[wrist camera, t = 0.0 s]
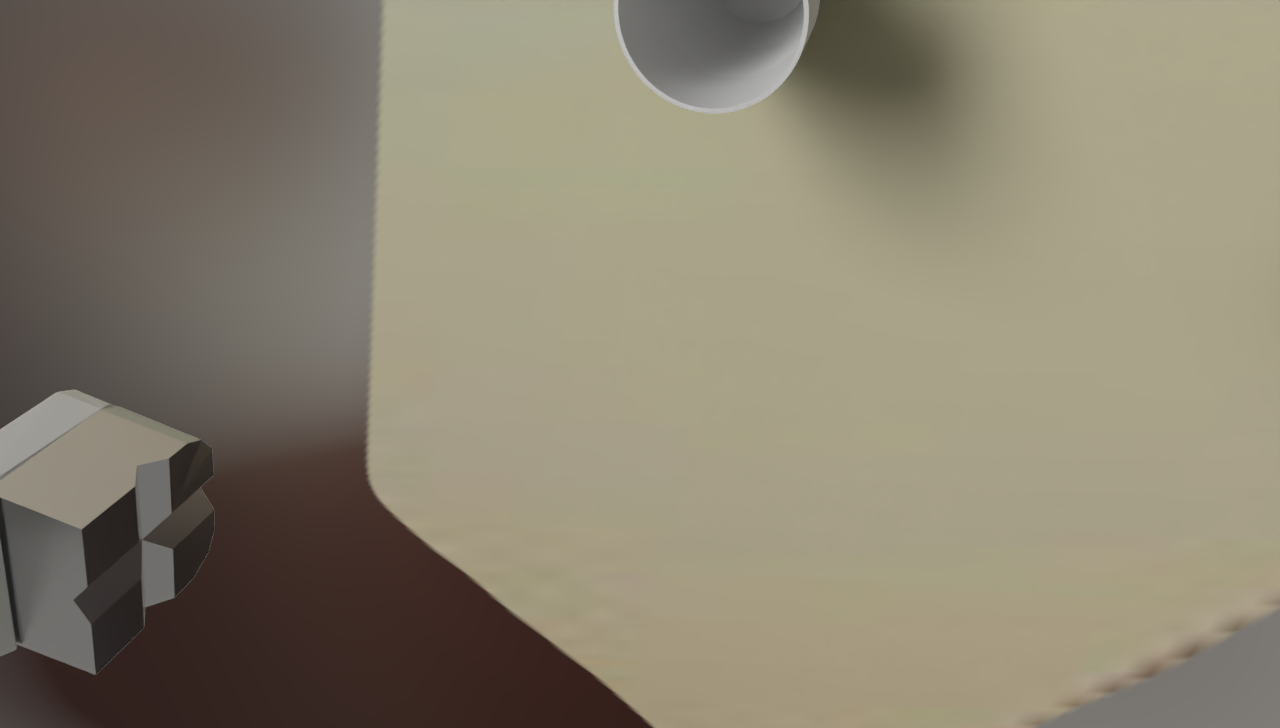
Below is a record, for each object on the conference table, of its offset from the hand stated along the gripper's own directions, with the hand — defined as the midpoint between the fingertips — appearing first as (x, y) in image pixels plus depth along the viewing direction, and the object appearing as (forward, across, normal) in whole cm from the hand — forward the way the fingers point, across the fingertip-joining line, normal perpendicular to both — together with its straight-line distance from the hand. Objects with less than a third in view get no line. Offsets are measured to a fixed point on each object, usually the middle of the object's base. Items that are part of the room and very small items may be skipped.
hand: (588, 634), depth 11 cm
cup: (+48, +8, +4) cm, 49 cm away
